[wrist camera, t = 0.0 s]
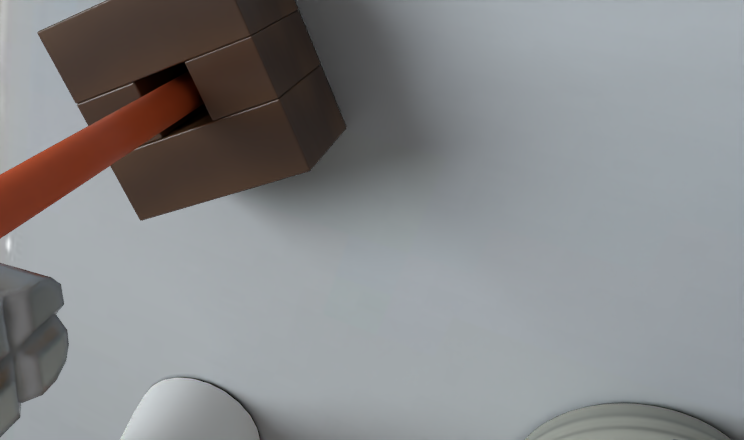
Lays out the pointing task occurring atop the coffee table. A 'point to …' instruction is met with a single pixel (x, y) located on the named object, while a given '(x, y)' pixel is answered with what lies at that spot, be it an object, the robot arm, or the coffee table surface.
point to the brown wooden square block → (202, 92)
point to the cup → (189, 414)
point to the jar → (625, 425)
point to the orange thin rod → (91, 151)
